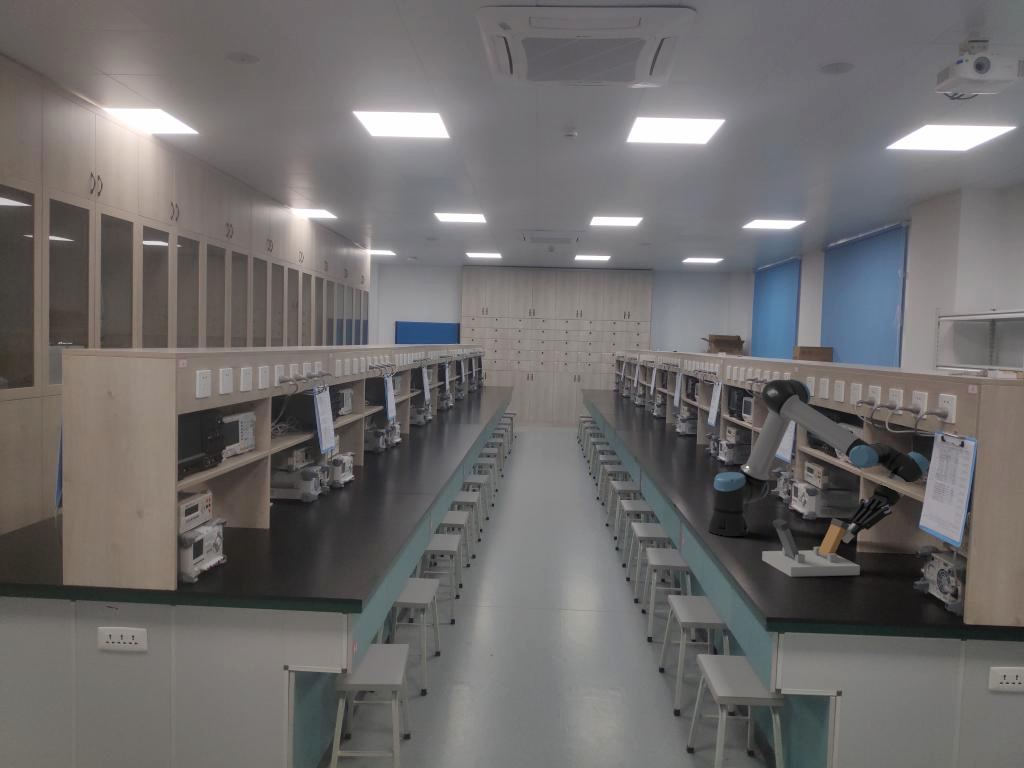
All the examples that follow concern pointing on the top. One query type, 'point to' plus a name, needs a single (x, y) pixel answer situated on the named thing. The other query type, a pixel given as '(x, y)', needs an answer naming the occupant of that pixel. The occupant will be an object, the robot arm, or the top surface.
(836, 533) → the orange lever
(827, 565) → the control panel
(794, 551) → the grey lever
